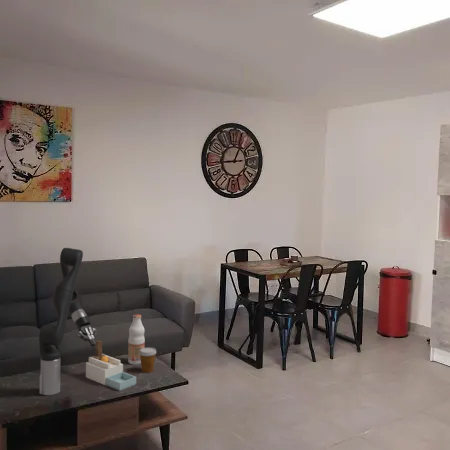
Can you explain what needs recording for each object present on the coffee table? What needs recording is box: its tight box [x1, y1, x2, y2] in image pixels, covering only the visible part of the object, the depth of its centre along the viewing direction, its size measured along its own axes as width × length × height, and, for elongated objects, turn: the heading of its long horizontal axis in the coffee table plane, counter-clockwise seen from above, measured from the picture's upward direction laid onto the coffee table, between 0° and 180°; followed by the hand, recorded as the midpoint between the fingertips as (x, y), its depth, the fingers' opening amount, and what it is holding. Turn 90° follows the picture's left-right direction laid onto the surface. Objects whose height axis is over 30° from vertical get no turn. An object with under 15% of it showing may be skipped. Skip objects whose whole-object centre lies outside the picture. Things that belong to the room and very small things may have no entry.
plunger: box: [93, 339, 106, 361], centre depth 267 cm, size 5×4×11 cm
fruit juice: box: [127, 314, 146, 366], centre depth 290 cm, size 9×9×28 cm
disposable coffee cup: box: [139, 347, 157, 374], centre depth 277 cm, size 10×10×12 cm
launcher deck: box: [85, 353, 124, 386], centre depth 265 cm, size 12×16×10 cm
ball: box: [101, 355, 108, 363], centre depth 265 cm, size 4×4×4 cm
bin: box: [105, 371, 137, 391], centre depth 257 cm, size 11×11×4 cm
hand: (94, 345), depth 270 cm, fingers closed
